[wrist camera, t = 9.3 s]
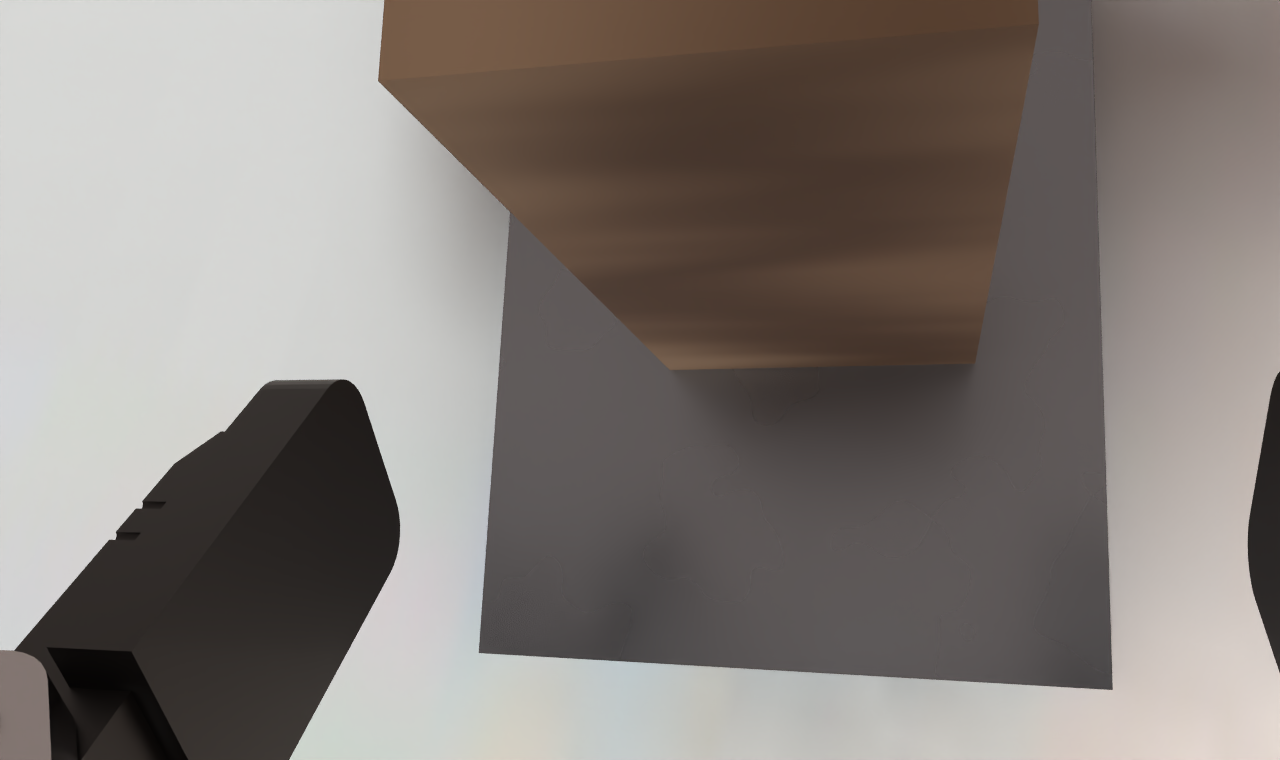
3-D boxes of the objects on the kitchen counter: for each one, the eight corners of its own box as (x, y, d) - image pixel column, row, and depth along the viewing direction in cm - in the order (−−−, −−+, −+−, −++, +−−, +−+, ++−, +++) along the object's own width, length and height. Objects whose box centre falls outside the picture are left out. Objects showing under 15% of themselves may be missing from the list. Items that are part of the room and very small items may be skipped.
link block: (669, 370, 18) (377, 81, 8) (676, 96, 19) (419, -447, 9) (975, 363, 17) (1039, 23, 7) (966, 73, 18) (1014, -565, 8)
